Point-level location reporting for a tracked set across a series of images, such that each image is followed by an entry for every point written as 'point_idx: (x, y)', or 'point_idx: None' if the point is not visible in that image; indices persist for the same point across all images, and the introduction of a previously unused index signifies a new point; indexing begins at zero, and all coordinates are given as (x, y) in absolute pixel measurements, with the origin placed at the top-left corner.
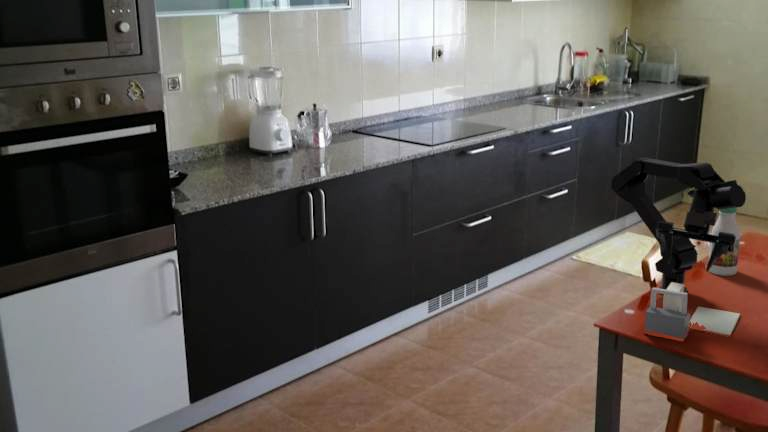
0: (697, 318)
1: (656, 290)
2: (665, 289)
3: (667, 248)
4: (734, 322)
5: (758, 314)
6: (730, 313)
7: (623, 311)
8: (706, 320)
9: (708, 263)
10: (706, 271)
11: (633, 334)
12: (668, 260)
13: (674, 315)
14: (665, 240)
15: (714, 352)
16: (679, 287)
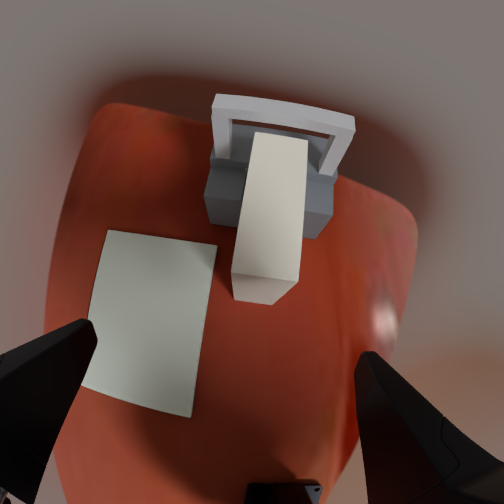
0: (186, 318)
1: (334, 113)
2: (304, 117)
3: (440, 420)
4: (91, 316)
5: None
6: (100, 381)
7: (396, 313)
8: (160, 310)
9: (58, 341)
10: (96, 336)
11: (340, 175)
12: (373, 357)
13: (251, 133)
14: (501, 461)
15: (157, 142)
16: (250, 216)
